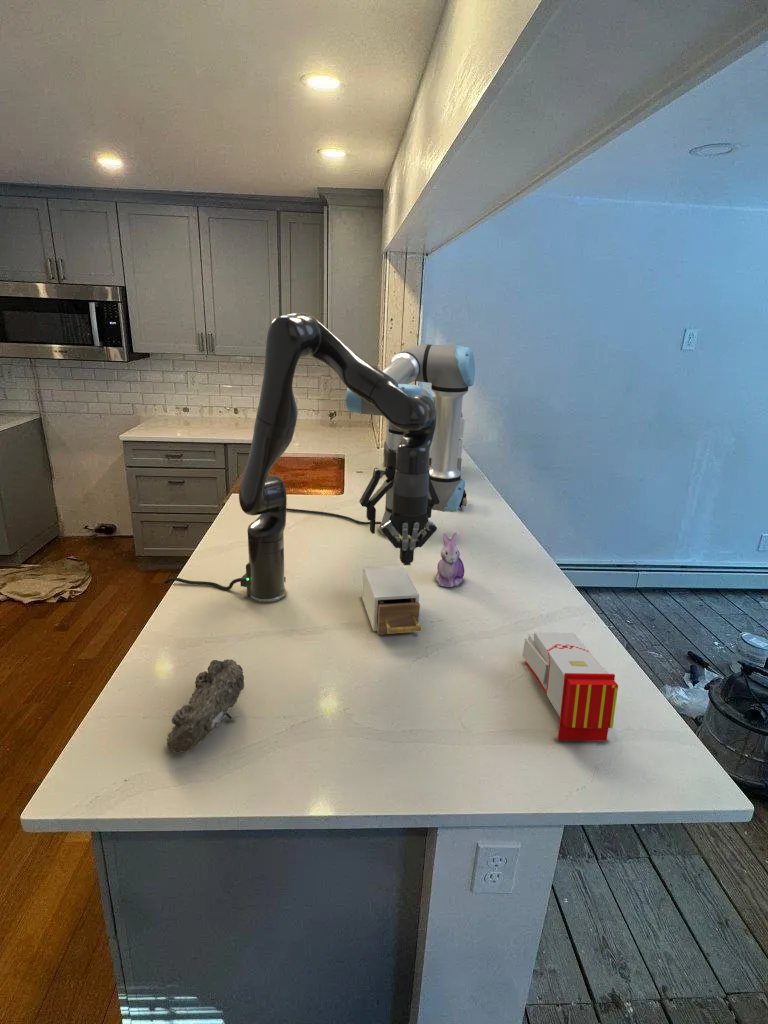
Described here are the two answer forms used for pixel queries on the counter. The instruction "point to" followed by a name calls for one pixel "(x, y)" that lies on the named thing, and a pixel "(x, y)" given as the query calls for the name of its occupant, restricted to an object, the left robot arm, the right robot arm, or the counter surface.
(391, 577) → the cabinet
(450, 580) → the figurine
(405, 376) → the right robot arm
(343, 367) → the left robot arm
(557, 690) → the toy
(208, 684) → the fossil
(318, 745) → the counter surface
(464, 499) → the figurine character
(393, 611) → the drawer
